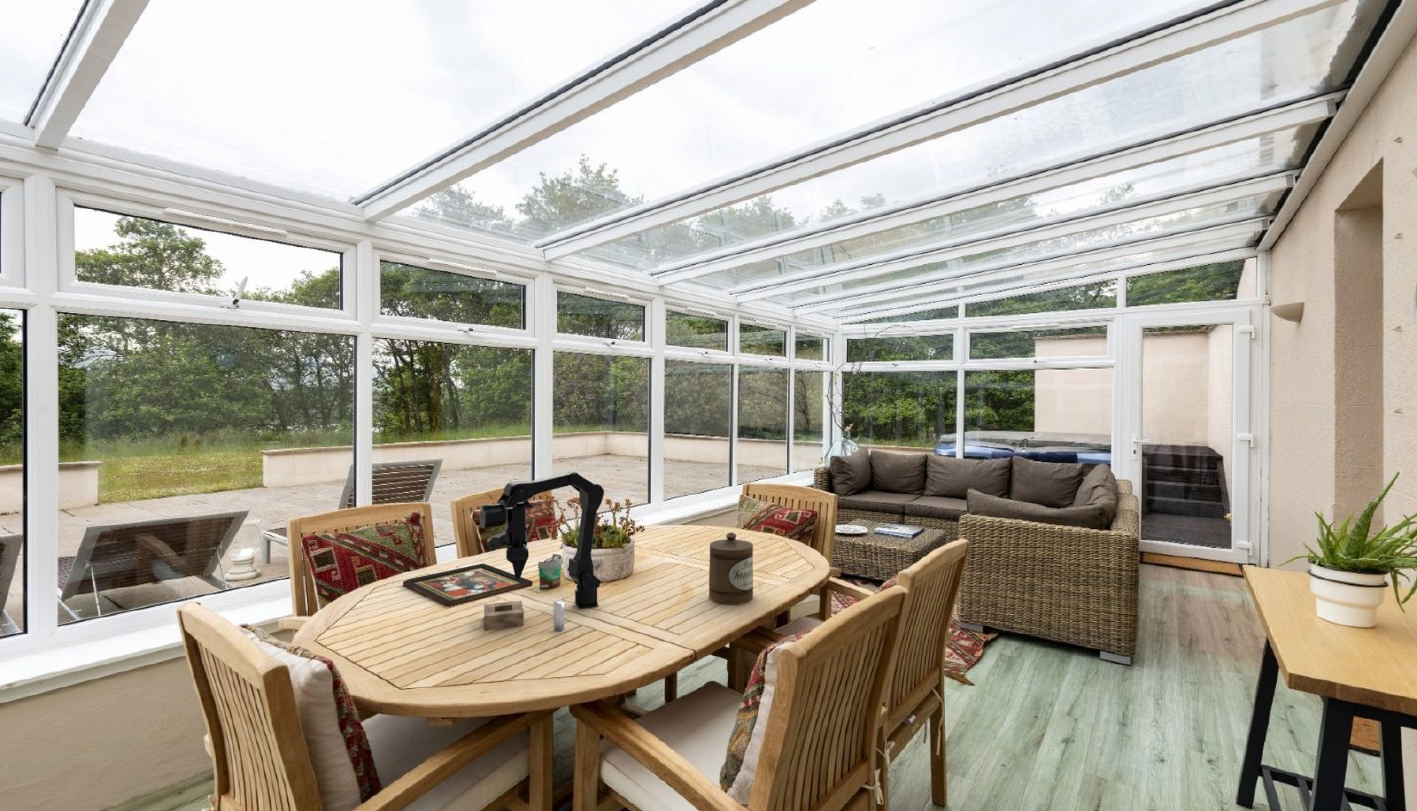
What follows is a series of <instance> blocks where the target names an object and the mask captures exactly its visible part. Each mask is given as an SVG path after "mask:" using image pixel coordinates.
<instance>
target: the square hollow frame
mask: <svg viewBox="0 0 1417 811" xmlns="http://www.w3.org/2000/svg"><path fill="white" fill-rule="evenodd" d="M522 601H523V600H516V601H514V600H513V601H505V602H496V603H486V604H484V606H483V611H484V612H483V613H484V614H483V615H484V616H483V629H484V630H483V631H488V630H497V629H498V630H499V629H505V628H514V627H516V628H517V627H523V626H525V624H524V623H525V622H524V621H525V620H524V618H525V617H524V615H525V614H524V613H525V612H524V607H523V606H524V605H523V602H522Z"/></svg>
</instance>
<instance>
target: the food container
mask: <svg viewBox="0 0 1417 811" xmlns="http://www.w3.org/2000/svg"><path fill="white" fill-rule="evenodd" d="M563 564H564V558H563V557H562V555H560V554H558V553H552V556H551V557H549V558H546V559H545V560H544V561H538V564H537V568H538V578H539V590H540V591H542V590H552V589H556V588H559V587H560V586H561V580H562V579H561V576H562V575H561V574H562V565H563Z"/></svg>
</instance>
